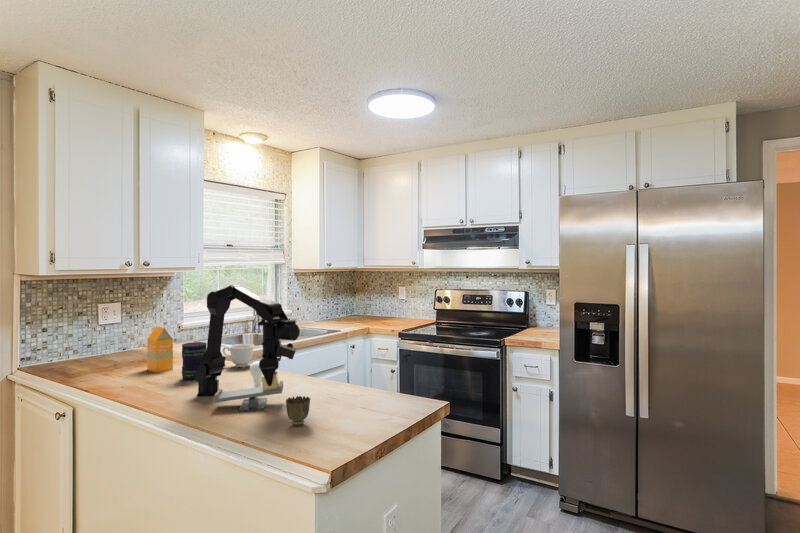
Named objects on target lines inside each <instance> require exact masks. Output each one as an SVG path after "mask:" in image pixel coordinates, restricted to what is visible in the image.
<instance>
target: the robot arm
mask: <svg viewBox="0 0 800 533" xmlns="http://www.w3.org/2000/svg"><path fill="white" fill-rule="evenodd" d="M234 300H238V301H239V302H241V303H243V304H244V305H246V306H248V307H250V308H251V309H253V310H255V312H256V314H257V316H258V317H259V318H261V320H260V321H259V322H258V323H257V325H258V326H261V327H262V342H261V346H262V353H261V357H262V358H261V359H260V360H259V361H260V362H259V368H260V370H261V371H262V374H263V376H264V378H265V380H266V382H267V384H268V386H271V385H272V381H273V375H274V372H277V371H276V370H278V368H279V366H280V361H281V360H282V358H283V357H284V358H288V359H289V360H293V359H294V357H295V353H296V352H297V349H296V348H295V347H294V344H293V343H290V342H288V343H287V344H282V341H281V340H283V341H293V342H294V341H297V340H298V338H299V336H300V328H299V326H298V324H297V322H296V320H289V318H288V316H287V315H286V313H285V311H284V309H283V306H282V304H281V303H279V302H276V301H274V300H269V299H264V298H262V297H260V296H258V295H256V294H255V293H253V292H251V291H249V289H246V288H244V287H243V286H242V285H240V284H234V285H233V284H232V285H230V284H229V286H226V287H224V288H221V289H219V290H216V291H215V290H214V291H210V292H209V293H208V294H207V296H206V308H207V310H208V312H209V315H210V316H209V324H208V325H209V326H208V332H207V341H206V343H207V345H206V349H207V350H206V352H205V354H204V355H203V357H202V358H201V362H200V366H199V368H198V369H197V370H196V371H195V373H194V379H196V380H198V381H197V382H198V383H197V386H198V387H197V394H196V396H197V397H203V396H214V395H215V394H216V393H217V391H218V390H219V389H220V380H219V379H218V377H220V376H222V373H223V370H224V368H225V367H226V364H225V363H226V357H227V356H226V355H224V354H222V353H223V352H221V351H222V350H221V348H222V339H223V332H224V325H225V324H224V323H225V322H224V321H225V315H226V313H227V312H228V310H229V309H230V306H231V302H232V301H234Z"/></svg>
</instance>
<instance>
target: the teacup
mask: <svg viewBox="0 0 800 533" xmlns="http://www.w3.org/2000/svg"><path fill="white" fill-rule="evenodd" d="M254 348H255V344H254V343H253V344H252V343H237V344H231V345H229V346H227V345H226V346H224V347H223V348H222V353H223V354H222V355H223V356H225V357H228V358H230V360H231V362H232V363H233V364H234V366H235V368H237V367H243V368H247V367H249V364H250V363H251V361H252V358H253V350H254ZM226 349H227V351H228V352H230V354H229V353H227V352H226ZM246 366H247V367H246Z"/></svg>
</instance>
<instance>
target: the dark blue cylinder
mask: <svg viewBox="0 0 800 533" xmlns="http://www.w3.org/2000/svg"><path fill="white" fill-rule="evenodd" d="M181 347H182V348H181V358H182V367H181V376H182V377H181V381H183V382H198V380H196V379H194V373H195V371H196V370H197V369H198V368H199V366H200V362H201V358H202V357H203V355H204V354H205V352H206V350H207V342H204V341H194V342H187V343H183V344H182V345H181Z"/></svg>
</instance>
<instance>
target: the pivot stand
mask: <svg viewBox="0 0 800 533" xmlns="http://www.w3.org/2000/svg"><path fill="white" fill-rule="evenodd" d="M267 401H268V398H267V397H261V398H259V396H258V397H251V398H244V399H242V403H241V405H240V407H239V408H238V412H240V413H241V412H255V411H257V410H259V411H264V410H265V407H266V404H267Z"/></svg>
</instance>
